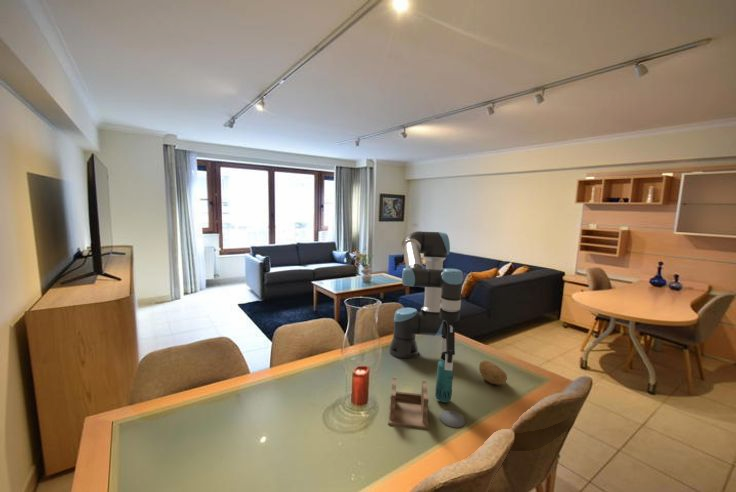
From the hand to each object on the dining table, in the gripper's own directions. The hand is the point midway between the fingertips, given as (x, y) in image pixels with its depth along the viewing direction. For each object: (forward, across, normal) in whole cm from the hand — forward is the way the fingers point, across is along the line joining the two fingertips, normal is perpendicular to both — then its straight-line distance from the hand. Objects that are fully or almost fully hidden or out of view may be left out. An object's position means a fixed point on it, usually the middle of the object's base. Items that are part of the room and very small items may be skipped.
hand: (446, 361), depth 126 cm
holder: (+17, +10, -14) cm, 24 cm away
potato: (+17, -20, +24) cm, 35 cm away
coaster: (+17, +10, +2) cm, 20 cm away
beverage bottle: (+17, 0, 0) cm, 17 cm away
